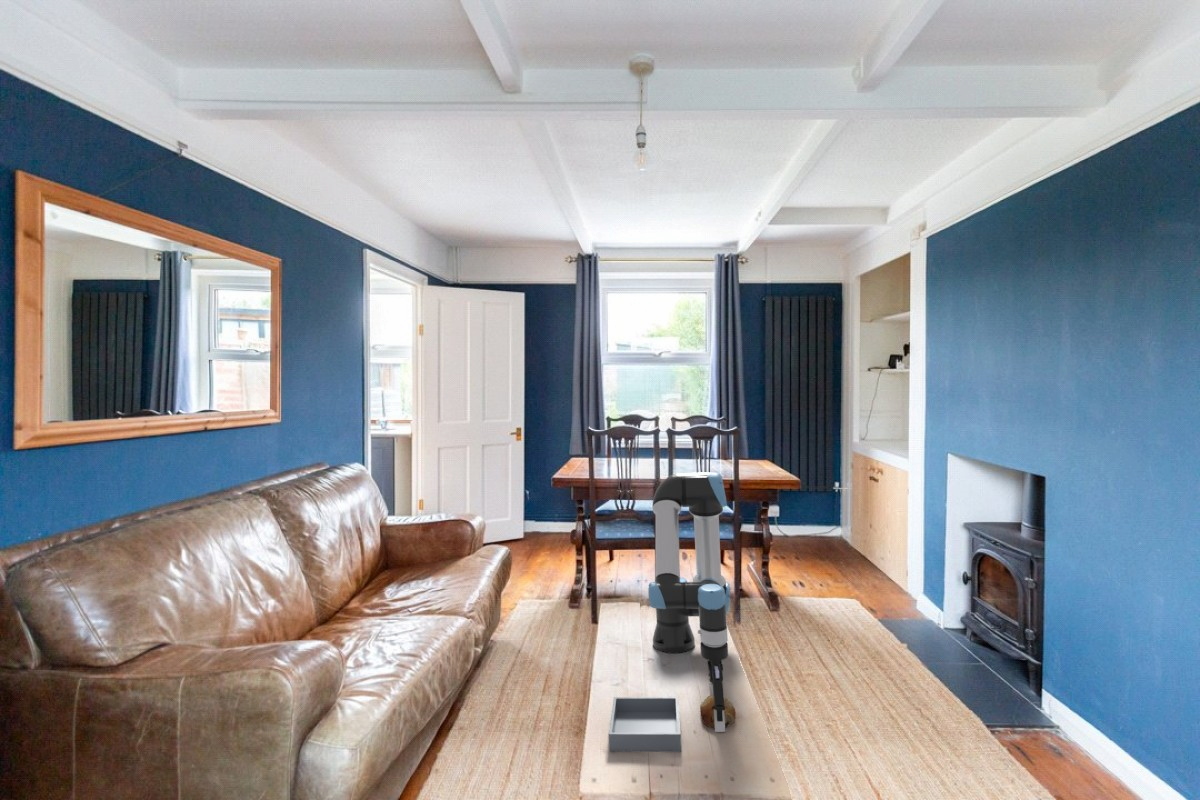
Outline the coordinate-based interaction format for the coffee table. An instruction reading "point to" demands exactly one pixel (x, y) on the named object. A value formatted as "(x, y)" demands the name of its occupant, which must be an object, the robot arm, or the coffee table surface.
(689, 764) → the coffee table surface
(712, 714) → the bread roll
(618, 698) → the grey tray
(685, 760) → the coffee table surface
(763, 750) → the coffee table surface
